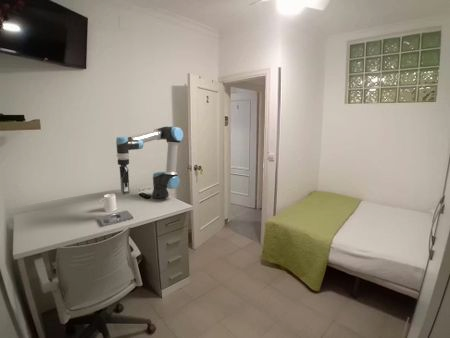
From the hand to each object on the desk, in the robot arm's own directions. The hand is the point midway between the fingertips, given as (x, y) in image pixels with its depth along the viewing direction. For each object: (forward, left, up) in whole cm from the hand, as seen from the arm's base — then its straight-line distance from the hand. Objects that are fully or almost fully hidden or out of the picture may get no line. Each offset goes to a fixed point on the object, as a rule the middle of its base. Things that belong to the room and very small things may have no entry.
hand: (125, 190), depth 168 cm
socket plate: (+9, +3, -19) cm, 21 cm away
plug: (0, 0, -2) cm, 2 cm away
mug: (+9, -18, -20) cm, 28 cm away
